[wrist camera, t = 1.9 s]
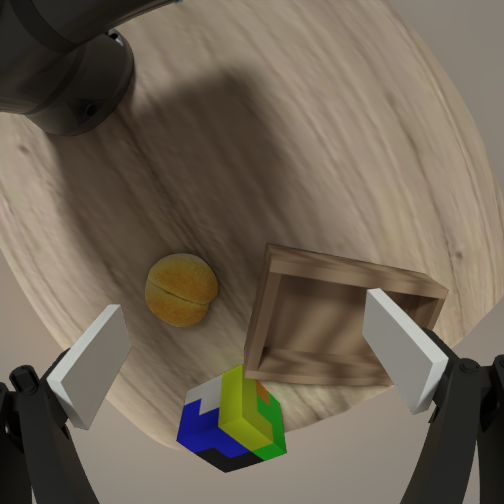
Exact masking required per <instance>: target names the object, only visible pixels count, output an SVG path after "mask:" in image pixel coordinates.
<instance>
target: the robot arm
mask: <svg viewBox="0 0 504 504" xmlns="http://www.w3.org/2000/svg"><path fill="white" fill-rule="evenodd" d="M182 1H183V0H0V112H7V113H15V114H22V115H25V116H26V117H27V118H28V119H30V120H31V121H32V122H33V123H35V124H36V125H37V126H38V127H40V128H41V129H42V130H44V131H46V132H48V133H50V134H54V135H62V136H74V135H78V134H82V133H84V132H86V131H89V130H90V129H92V128H94V127H95V126H97V125H98V124H100V123H101V122H102V121H103V120H104V119H105V118H107V116H108V115H109V114H110V113H111V112H112V111H113V110H114V109H115V107H116V106H117V105H118V103H119V102H120V100H121V99H122V97H123V95H124V93H125V91H126V89H127V87H128V85H129V82H130V79H131V75H132V70H133V54H132V50H131V47H130V45H129V43H128V41H127V40H126V39H125V38H124V37H123V36H122V35H121V34H120V33H119V32H118V31H117V30H116V29H114V27H116V26H118V25H120V24H122V23H125V22H127V21H129V20H131V19H133V18H135V17H137V16H140V15H142V14H144V13H147V12H149V11H152V10H154V9H157V8H160V7H162V6H165V5H168V4H171V3H174V2H175V3H179V2H182ZM362 335H363V336H364V338H365V339H366V341H367V342H368V344H369V345H370V347H371V348H372V350H373V352H374V353H375V355H376V356H377V358H378V359H379V361H380V362H381V364H382V366H383V367H384V369H385V370H386V372H387V373H388V375H389V377H390V378H391V380H392V381H393V383H394V385H395V386H396V388H397V389H398V391H399V393H400V394H401V396H402V398H403V399H404V401H405V402H406V404H407V406H408V408H409V409H410V411H411V412H412V414H413V415H414V414H417V413H420V412H423V411H426V410H428V408H429V406H430V404H431V402H432V400H433V401H434V402H435V404H436V405H437V406H436V408H435V410H434V412H433V414H432V416H431V418H430V420H429V422H428V423H430V427H429V430H428V433H427V437H426V440H425V443H424V446H423V449H422V452H421V455H420V457H419V460H418V463H417V465H416V468H415V471H414V473H413V475H412V478H411V481H410V483H409V485H408V487H407V490H406V492H405V494H404V496H403V498H402V500H401V502H400V504H462V502H463V499H464V496H465V492H466V488H467V485H468V480H469V476H470V472H471V467H472V462H473V457H474V451H475V445H476V440H477V446H478V458H479V475H480V504H504V355H498V356H497V357H495V360H494V362H493V364H492V366H483V367H481V366H480V365H479V364H478V363H477V362H476V361H474V360H471V359H469V358H462V359H460V358H459V357H458V356H457V355H456V354H455V353H454V352H453V351H452V350H451V349H450V348H449V347H448V346H447V345H446V344H444V342H443V341H442V340H441V339H439V337H438V336H437V335H436V334H435V333H434V332H433V331H431V330H429V329H427V328H425V327H422V328H419V327H418V325H417V324H416V323H415V322H414V321H413V320H412V319H411V318H410V317H409V316H408V315H407V314H406V313H405V312H404V311H403V310H402V309H401V308H400V307H399V306H398V305H397V304H395V303H394V302H393V301H392V300H391V299H390V298H389V297H388V296H387V295H386V294H385V293H384V292H383V291H382V290H381V289H380V288H377V289H369V290H367V296H366V305H365V314H364V321H363V329H362ZM131 348H132V344H131V341H130V338H129V334H128V331H127V327H126V324H125V320H124V316H123V312H122V308H121V305H108V306H107V307H106V308H105V309H104V310H103V311H102V313H101V314H100V315H99V316H98V317H97V318H96V319H95V321H94V322H93V323H92V324H91V325H90V326H89V327H88V329H87V330H86V331H85V332H84V333H83V334H82V336H81V337H80V338H79V339H78V340H77V342H76V343H75V344H74V345H73V346H72V348H68V349H67V350H65V351H64V352H63V353H61V354H60V356H59V357H58V358H57V360H56V361H55V362H54V363H53V364H52V366H50V368H49V369H48V370H47V371H46V373H45V374H44V375H43V376H42V378H41V379H40V380H39V378H38V376H37V374H36V372H35V370H34V368H33V367H32V366H30V365H23V366H20V367H17V368H16V369H14V370H13V371H12V372H11V374H10V376H9V379H10V381H11V383H12V385H13V386H14V388H15V390H16V391H9V390H8V388H7V386H6V385H5V384H4V383H2V382H0V504H32V489H33V492H34V496H35V499H36V502H37V504H99V502H98V500H97V498H96V496H95V494H94V492H93V490H92V487H91V485H90V483H89V481H88V479H87V476H86V474H85V472H84V469H83V467H82V465H81V462H80V460H79V457H78V455H77V452H76V449H75V447H74V444H73V441H72V438H71V435H70V432H69V429H68V427H67V426H66V424H65V423H66V421H67V419H68V418H69V419H70V421H71V423H72V424H73V426H74V427H76V428H80V429H84V430H89V428H90V426H91V423H92V422H93V420H94V418H95V416H96V413H97V411H98V410H99V408H100V406H101V404H102V402H103V400H104V398H105V396H106V394H107V392H108V390H109V389H110V387H111V385H112V383H113V381H114V379H115V377H116V376H117V374H118V372H119V370H120V368H121V366H122V365H123V363H124V361H125V359H126V357H127V355H128V354H129V352H130V350H131ZM5 426H6V427H7V429H8V432H7V433H6V429H5ZM31 485H32V488H31Z"/></svg>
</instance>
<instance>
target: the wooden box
mask: <svg viewBox="0 0 504 504" xmlns="http://www.w3.org/2000/svg"><path fill="white" fill-rule="evenodd" d="M377 288H380V289H381V290H382V291H383V292H384V293H385V294H386V295H387V296H388V297H389V298H390V299H391V300H392V301H393V302H394V303H395V304H397V305H398V306H399V307H400V308H401V309H402V310H403V311H404V312H405V313H406V314H407V315H408V316H409V317H410V318H411V319H412V320H413V321H414V322H415V323H416V324H417V325H418V327H419V328H422V327H425V328H427V329H429V330H431V331H432V330H433V328H434V326H435V323H436V321H437V319H438V316H439V314H440V312H441V309H442V307H443V304H444V302H445V299H446V296H447V294H448V291H449V290H448V289H446V288H445V287H444V286H442V285H441V284H439V283H438V282H436V281H435V280H433V279H432V278H430V277H429V276H427V275H426V274H424V273H419V272H414V271H409V270H404V269H399V268H394V267H389V266H384V265H379V264H374V263H369V262H364V261H358V260H353V259H348V258H343V257H338V256H332V255H327V254H322V253H316V252H311V251H306V250H301V249H295V248H290V247H284V246H279V245H274V244H268V243H267V246H266V251H265V256H264V260H263V265H262V270H261V274H260V279H259V284H258V288H257V293H256V297H255V302H254V306H253V311H252V315H251V320H250V324H249V329H248V333H247V338H246V342H245V347H244V378H250V379H258V380H267V381H277V382H289V383H303V384H321V385H394V383H393V381H392V380H391V378H390V377H389V375H388V373H387V372H386V370H385V369H384V367H383V366H382V364H381V362H380V361H379V359H378V358H377V356H376V355H375V353H374V352H373V350H372V348H371V347H370V345H369V344H368V342H367V341H366V339H365V338H364V336H363V335H362V329H363V321H364V314H365V305H366V296H367V290H369V289H377Z"/></svg>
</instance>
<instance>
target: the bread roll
mask: <svg viewBox="0 0 504 504" xmlns="http://www.w3.org/2000/svg"><path fill="white" fill-rule="evenodd" d="M217 293H218V282H217V279H216V277H215V275H214V273H213V271H212V270H211V268H210V267H209V266H208V265H207V264H206V263H205V262H204V261H203V260H202V259H201V258H199V257H197V256H195V255H192V254H186V253H182V254H181V253H178V254H171V255H168V256H166V257H164V258H162V259H161V260H159V261H158V262H157V263H155V265H154V266H153V267H152V268H151V270H150V272H149V274H148V278H147V281H146V285H145V299H146V302H147V305H148V307H149V309H150V310H151V311H152V312H153V313H154V314H155V315H156V316H157V317H159V318H160V319H161V320H162V321H165V322H166V323H168V324H171V325H173V326H175V327H180V328H182V327H189V326H193V325H196V324H198V323H199V322H200V321H201V320H203V318H204V317H205V316H206V314H207V312H208V309H209V303H210V301H211V300H213V299H214V298H215V297H216V295H217Z"/></svg>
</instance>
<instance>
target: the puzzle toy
mask: <svg viewBox="0 0 504 504" xmlns="http://www.w3.org/2000/svg"><path fill="white" fill-rule="evenodd" d="M176 441H177V442H179V443H180V444H182V445H183V446H184V447H186V448H187V449H189V450H190V451H192V452H193V453H195V454H196V455H197V456H199V457H201V458H202V459H204V460H205V461H207V462H208V463H210V464H211V465H213V466H215V467H216V468H218V469H220V470H221V471H223V472H225V473H226V472H230V471H234V470H237V469H241V468H244V467H248V466H251V465H254V464H257V463H260V462H263V461H266V460H269V459H272V458H274V457H277V456H280V455H283V454H285V453H287V451H286V444H285V437H284V430H283V423H282V416H281V409H280V403H279V402H278V401H277V400H276V399H275V398H274V397H273V396H272V395H271V394H270V393H269V392H268V391H267V390H266V389H265V388H264V387H263V386H262V385H261V384H260V383H259V382H258V381H257V379H250V378H244V366H243V365H242V364H241V365H239V366H237V367H235V368H233V369H232V370H230V371H228V372H226V373H224V374H222V375H219V376H217V377H215V378H213V379H211V380H209V381H207V382H205V383H203V384H201V385H199V386H197V387H194V388H192V389H190V390H188V391H187V394H186V398H185V403H184V407H183V412H182V416H181V421H180V426H179V430H178V435H177V440H176Z"/></svg>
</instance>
